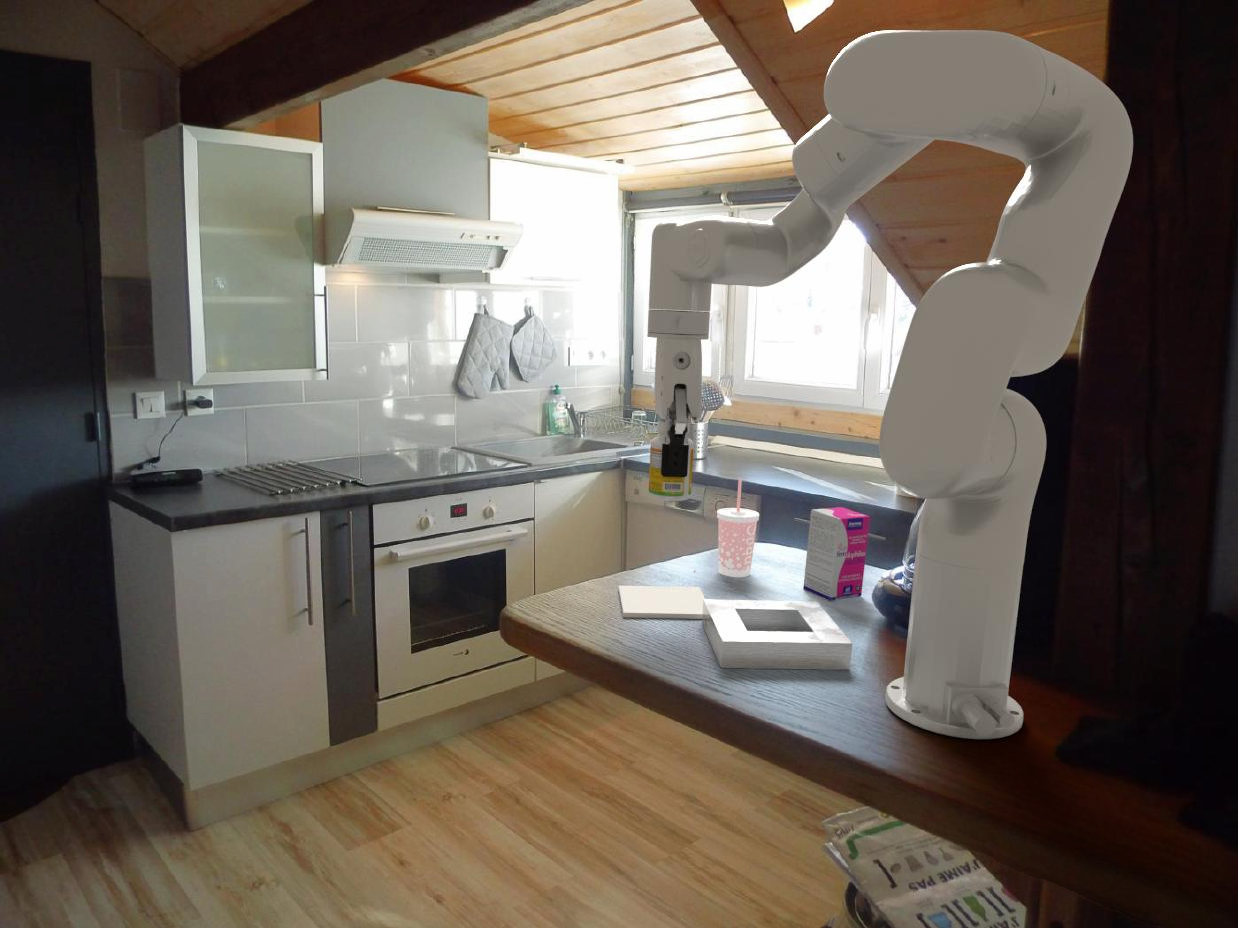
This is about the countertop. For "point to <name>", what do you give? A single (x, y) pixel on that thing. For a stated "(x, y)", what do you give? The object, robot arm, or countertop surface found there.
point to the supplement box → (836, 553)
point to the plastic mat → (661, 602)
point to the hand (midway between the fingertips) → (671, 470)
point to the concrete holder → (775, 635)
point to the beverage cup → (736, 538)
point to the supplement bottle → (668, 485)
